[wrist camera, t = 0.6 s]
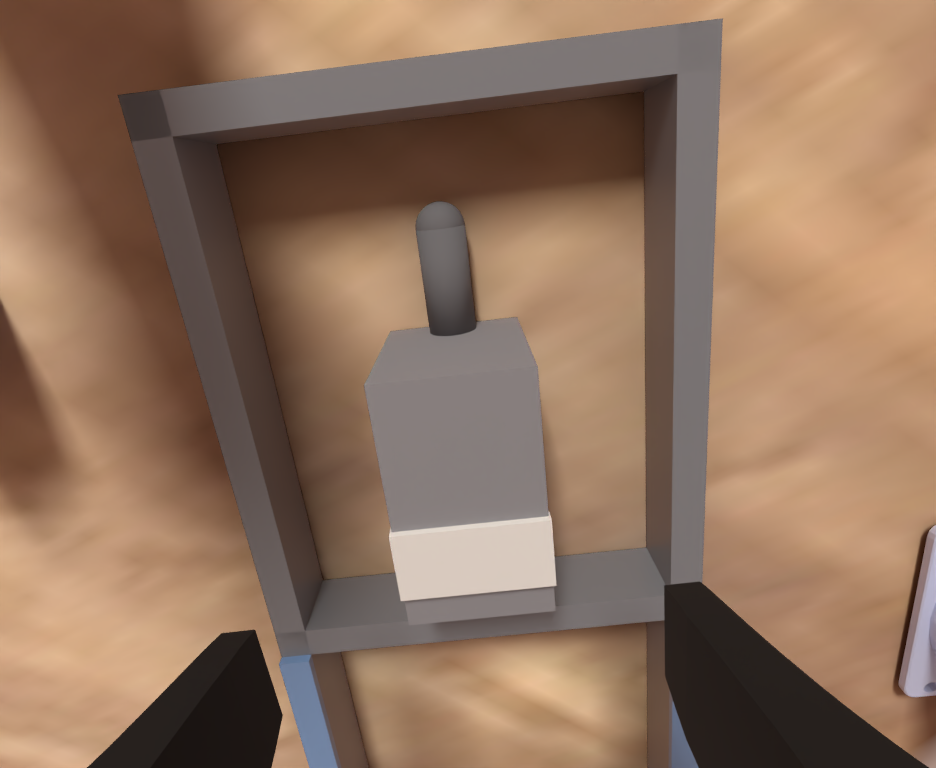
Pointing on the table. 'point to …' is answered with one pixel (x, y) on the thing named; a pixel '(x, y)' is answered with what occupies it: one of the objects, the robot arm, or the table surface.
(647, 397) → the grey divided rectangular frame
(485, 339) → the cord plug
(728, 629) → the robot arm
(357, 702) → the table surface
